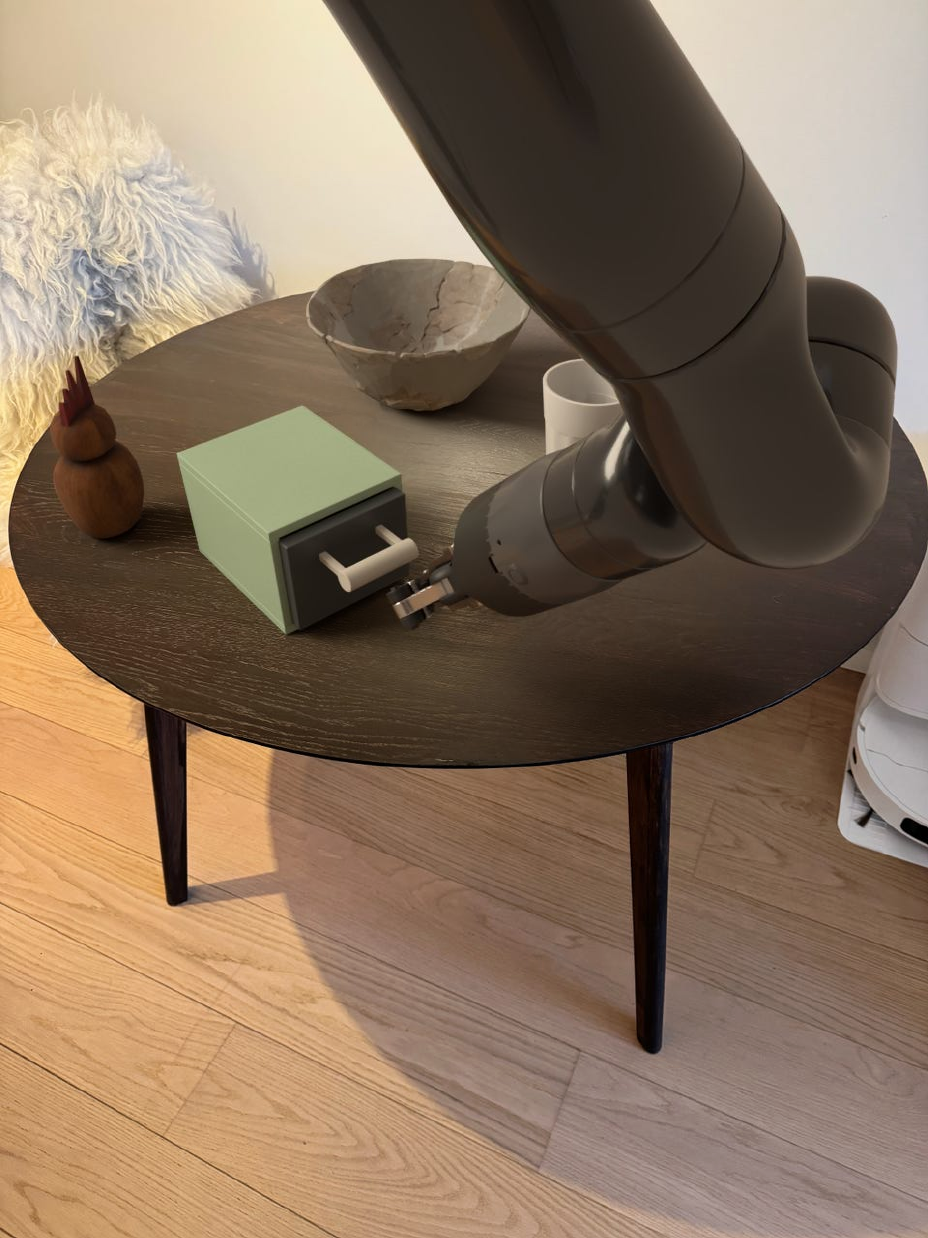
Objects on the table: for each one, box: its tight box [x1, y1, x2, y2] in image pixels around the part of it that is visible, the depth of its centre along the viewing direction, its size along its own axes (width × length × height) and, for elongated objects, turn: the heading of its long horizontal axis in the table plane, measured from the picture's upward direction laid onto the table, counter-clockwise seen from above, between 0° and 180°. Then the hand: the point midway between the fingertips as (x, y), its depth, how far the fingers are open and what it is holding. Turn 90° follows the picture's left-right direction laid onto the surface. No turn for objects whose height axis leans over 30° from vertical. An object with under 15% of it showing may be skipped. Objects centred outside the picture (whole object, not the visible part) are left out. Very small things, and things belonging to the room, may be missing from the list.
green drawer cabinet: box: [176, 405, 403, 636], centre depth 75 cm, size 14×12×10 cm
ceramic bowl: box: [305, 258, 532, 412], centre depth 96 cm, size 22×23×10 cm
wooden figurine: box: [49, 355, 145, 539], centre depth 77 cm, size 7×6×15 cm
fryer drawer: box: [278, 487, 420, 631], centre depth 72 cm, size 17×10×8 cm, turn 40°
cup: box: [542, 358, 622, 455], centre depth 80 cm, size 8×8×12 cm
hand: (418, 595), depth 64 cm, fingers closed
